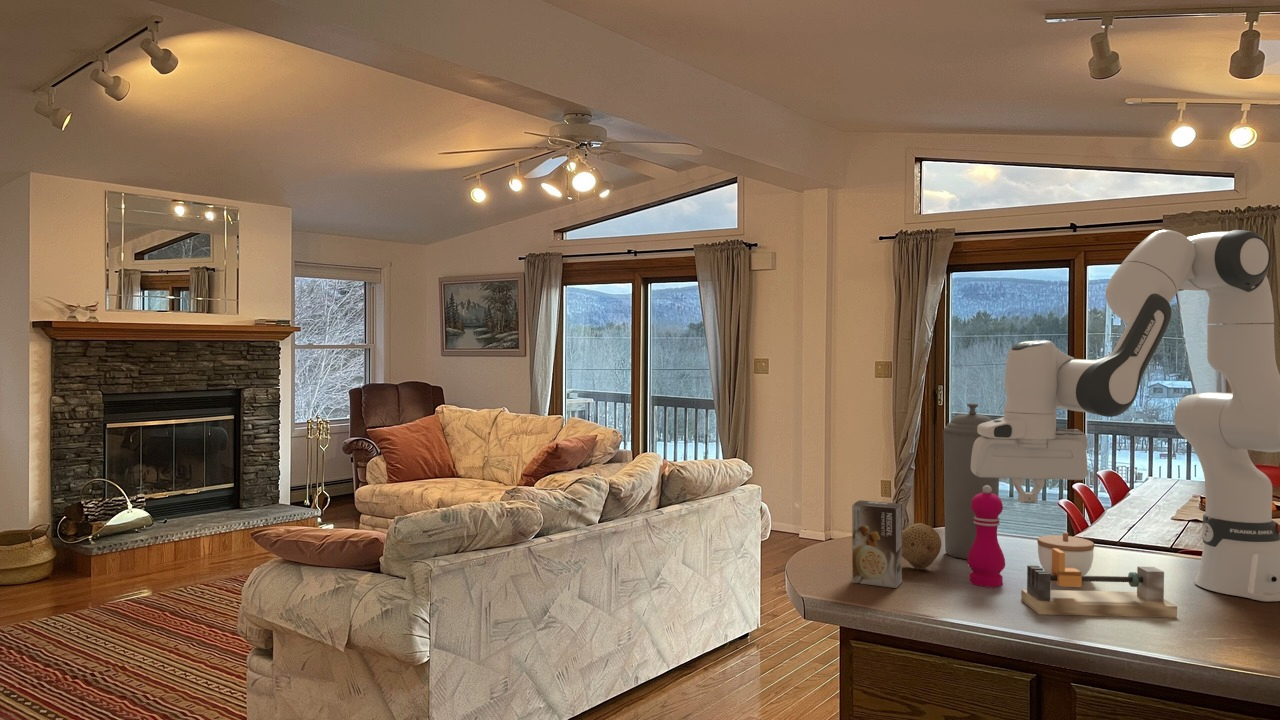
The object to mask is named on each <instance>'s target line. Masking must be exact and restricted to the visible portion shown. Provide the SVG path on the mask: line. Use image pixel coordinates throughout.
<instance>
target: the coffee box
mask: <svg viewBox="0 0 1280 720" xmlns="http://www.w3.org/2000/svg"><path fill="white" fill-rule="evenodd" d="M902 513H903V505H902V503H896V502H895V503H894V502H883V501H872V500H871V501H870V500H860V499H859V500H857V501H856V502H854V503H853V504H852V506H851V516H852V517H851V525H852V526H851V530H852V531H851V532H852V534H851V535H852V537H851V541H852V544H851V545H852V548H851V549H852V550H851V551H852V552H851V554H852V556H851V557H852V562H851V563H852V571H851V572H852V573H851V574H852V576H851V577H852V584H858V583H860V584H861V585H868V586H877V587H885V588H894V589H897V588H898V587H899V586H900V585H901V584H902V583H903V569H902V568H903V562H902V560H903V557H902V532H903V530H902V529H903V528H902V527H903V526H902V525H903V521H902V520H903V515H902Z"/></svg>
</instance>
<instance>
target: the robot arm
mask: <svg viewBox="0 0 1280 720" xmlns="http://www.w3.org/2000/svg"><path fill="white" fill-rule="evenodd" d="M1270 265H1271V250H1270V247H1269V245H1268V243H1267V242H1266V240H1265V239H1264V238H1263V236H1262V235H1261V234H1259V233H1258V232H1255V231H1250V230H1243V229H1233V230H1230V231H1210V232H1203V233H1200V234H1195V235H1191V236H1186V235H1184V234H1183V233H1181V232H1178V231H1176V230H1173V229H1172V230H1171V229H1161V230H1156V231H1154V232H1152V233H1151V234H1149V235H1148V236H1146V237H1145V238H1144V239H1143V240H1142V241H1141V242H1139V244H1138V245H1137V246H1136V247H1134V249H1133V250H1132V251H1131V252H1130V253H1129V254H1128V255H1127V257H1125V259H1124V260H1123V261H1122V262H1121V264H1120V265H1119V266H1118V268H1117V269H1116V270H1115V272H1114V273H1113V275H1112V276H1111V278H1110V279H1109V281H1108V283H1107V285H1106V289H1105V290H1104V291H1105V292H1104V293H1105V300H1106V303H1107V305H1108V307H1109V309H1111V311H1112V312H1113V314H1115V315H1116V316H1117V317H1118V318H1119V319H1120V320H1122V322H1125V323H1126V327H1125V329H1124V331H1123V333H1122V334H1121V336H1120V338H1119V340H1118V341H1117V344H1116V345H1115V347H1114V349H1113V350H1112V351H1111V353H1109V354H1107V355H1106V356H1103V357H1101V358H1098V359H1081V358H1075V357H1074V356H1070V355H1068V354H1066V353H1065V352H1063V351H1061V350H1060V349H1059V348H1057V347H1056V345H1055V344H1054V342H1053V341H1052V340H1047V339H1036V340H1025V341H1020V342H1017V343H1016V344H1014V345H1012V346H1011V348H1010V349H1009V351H1008V353H1007V354H1008V355H1007V358H1006V364H1005V371H1004V372H1005V374H1004V391H1005V393H1006V401H1005V406H1004V414H1003V416H1001V417H999V418H996V419H991V420H992V421H988V422H985V423H981V424H979V425H978V427H977V432H978V434H979V435H981V436H980V437H978V438H977V439H976V440H975V442H974V444H973V449H972V455H971V471H972V473H973V474H974V475H975V476H978V477H985V478H999V479H1012V482H1011V483H1012V485H1013V486H1014V489H1015V490H1016V492H1017V493H1018V494H1017V501H1018V502H1019V503H1021V504H1038V499H1039V498H1038V497H1039V496H1038V495H1039V494H1040V492H1041V491H1042V489H1043V488H1044V486H1045V480H1070V481H1073V480H1074V481H1083V480H1085V479H1086V478H1087V476H1088V475H1089V474H1088V473H1089V468H1088V467H1089V466H1088V456H1087V450H1088V437H1087V435H1086V434H1085V432H1083V431H1081V430H1080V429H1077V428H1071V429H1067V428H1057V409H1058V410H1059V409H1060V410H1067V411H1068V410H1069V411H1072V412H1073V411H1074V412H1081V413H1090V414H1093V415H1097V416H1102V417H1107V418H1112V417H1113V418H1114V417H1117V416H1120V415H1122V414H1124V413H1125V412H1126V411H1128V410H1129V409H1130V407H1132V406H1133V404H1134V402H1135V400H1136V398H1137V395H1138V392H1139V388H1140V386H1141V381H1142V378H1143V376H1144V373H1145V371H1146V370H1147V367H1148V366H1149V363H1150V361H1151V360H1152V358H1153V357H1154V354H1155V352H1156V350H1157V348H1158V347H1159V345H1160V342H1161V340H1162V339H1163V337H1164V335H1165V333H1166V331H1167V329H1168V326H1169V325H1170V322H1171V321H1170V320H1171V317H1172V306H1171V302H1172V301H1173V299H1174V298H1175V296H1176V295H1177V293H1178V292H1181V291H1205V292H1206V294H1207V296H1208V298H1209V299H1208V307H1207V322H1206V323H1207V325H1206V327H1207V329H1206V330H1207V332H1206V333H1207V334H1206V335H1207V341H1206V343H1207V345H1206V346H1207V348H1206V349H1207V350H1206V351H1207V354H1206V355H1207V362H1208V364H1209V365H1210V367H1212V369H1213V370H1215V371H1217V373H1220V374H1221V375H1222V376H1223V377H1224V378H1225V379H1226V381H1227V383H1228V385H1229V386H1230V390H1231V392H1219V391H1218V392H1216V391H1206V392H1199V393H1193V394H1189V395H1186V396H1184V397H1182V398H1181V399H1180V400H1179V401H1178V403H1177V404H1176V407H1175V409H1174V413H1173V422H1174V423H1173V424H1174V427H1175V428H1176V430H1177V431H1176V432H1177V433H1179V435H1180V436H1181V437H1183V439H1184V440H1186V441H1187V442H1188V443H1189V445H1191V448H1192V449H1193V450H1194V452H1195V454H1196V456H1197V457H1198V458H1197V459H1198V461H1199V463H1200V465H1201V469H1202V473H1203V478H1204V486H1205V491H1204V492H1205V493H1204V494H1205V513H1204V514H1203V515H1202V532H1201V533H1202V542H1203V546H1202V554H1201V558H1200V559H1201V560H1200V564H1199V568H1198V571H1197V575H1196V577H1195V579H1194V584H1195V585H1196V586H1198V587H1200V588H1203V589H1205V590H1208V591H1211V592H1215V593H1219V594H1225V595H1229V596H1230V595H1231V596H1234V597H1235V596H1237V597H1242V598H1247V599H1250V600H1256V601H1260V602H1280V523H1278V522H1276V521H1274V520H1273V519H1272V516H1273V515H1272V514H1273V484H1272V481H1271V479H1270V478H1269V476H1268V475H1266V474H1265V473H1264V472H1263V471H1261V470H1260V469H1259V468H1257V467H1256V465H1255V464H1254V463H1253V462H1252V459H1251V458H1250V455H1249V451H1256V452H1263V453H1264V452H1265V453H1280V371H1279V369H1278V365H1277V362H1276V360H1277V359H1276V350H1275V312H1274V301H1273V296H1272V290H1271V285H1270V281H1269V278H1268V277H1267V273H1268V272H1269V268H1270ZM1248 450H1249V451H1248ZM1025 479H1029V480H1030V479H1031V480H1032V484H1034V486H1033V487H1032V489H1031V491H1029V492H1028V491H1025V490H1024V488H1023V487H1022V485H1024V484H1025Z"/></svg>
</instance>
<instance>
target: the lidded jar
mask: <svg viewBox="0 0 1280 720" xmlns="http://www.w3.org/2000/svg"><path fill="white" fill-rule="evenodd" d="M1036 540H1037V553H1038V554H1037V555H1038V559H1039V563H1040V565H1041V566H1040V567H1041V568H1043V570H1046V571H1047V572H1048V573H1050V574H1051V575H1052V548H1058V549H1059V550H1061V551H1063V552H1065V567H1074V568H1076V569H1077V570H1079V571H1081V572H1082V576H1087V574H1088V572H1089V571H1090V570H1091V568H1092V565H1093V560H1094V549H1095V543H1094V542H1093V541H1092V540H1089V539H1086V538H1082V537H1076V536H1072V535H1069V532H1066V531H1064V532H1062V535H1061V534H1060V535H1057V534H1052V535H1051V534H1049V535H1048V534H1047V535H1041V536H1039V537H1038V538H1037V539H1036Z"/></svg>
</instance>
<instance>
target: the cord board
mask: <svg viewBox="0 0 1280 720" xmlns="http://www.w3.org/2000/svg"><path fill="white" fill-rule="evenodd" d="M1026 572H1027V573H1026V575H1027V576H1026V589H1021V594H1020V600H1021V601H1022V602H1023V603H1025V604H1026V605H1027V606H1028V607H1029V608H1030V609H1032V610H1033V611H1034V612H1036V614H1038V615H1054V616H1056V615H1060V616H1093V617H1094V616H1097V617H1098V616H1100V617H1101V616H1102V617H1133V618H1134V617H1136V618H1137V617H1138V618H1139V617H1141V618H1178V606H1177V605H1175V604H1174V603H1172V602H1171V601H1169V600H1167V599H1165V597H1164V595H1165V592H1164V591H1165V571H1163V570H1161V569H1159V568H1158V567H1155V566H1138V565H1137V568H1136V572H1132V571H1130V572H1128V575H1127V576H1117V575H1116V576H1113V575H1111V576H1110V575H1108V576H1107V575H1085V576H1082V582H1094V583H1095V582H1096V583H1097V582H1101V583H1102V582H1104V583H1109V582H1111V583H1128V584H1129V586H1130V587H1131V588H1136V591H1115V590H1114V591H1106V590H1101V591H1100V590H1063V589H1062V590H1059V589H1058V590H1057V589H1051V585H1052V581H1057V575H1051V574H1050V573H1048V572H1047V571H1046V570H1044V569H1043V567H1042V566H1039V565H1032V564H1031V565H1027V570H1026Z"/></svg>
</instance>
